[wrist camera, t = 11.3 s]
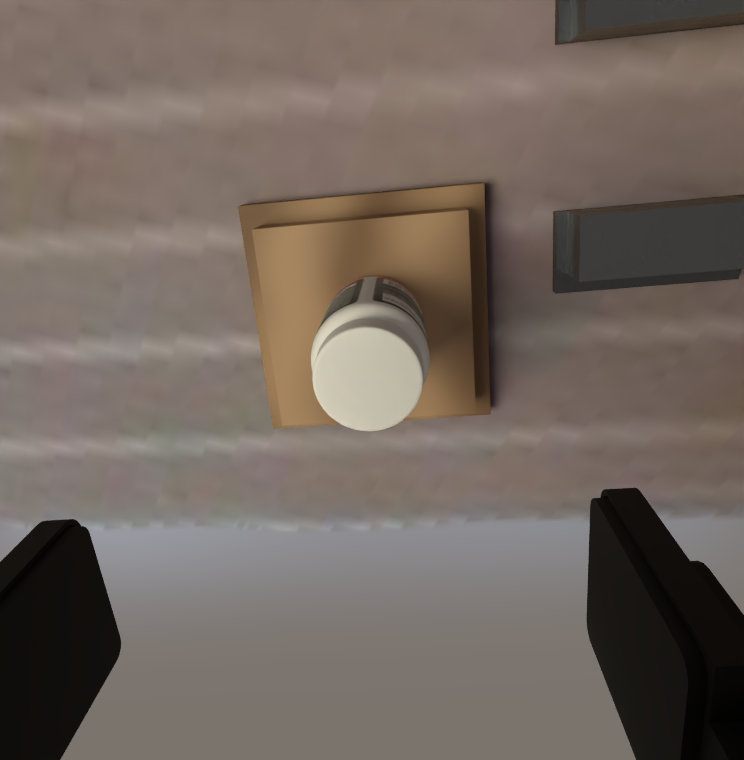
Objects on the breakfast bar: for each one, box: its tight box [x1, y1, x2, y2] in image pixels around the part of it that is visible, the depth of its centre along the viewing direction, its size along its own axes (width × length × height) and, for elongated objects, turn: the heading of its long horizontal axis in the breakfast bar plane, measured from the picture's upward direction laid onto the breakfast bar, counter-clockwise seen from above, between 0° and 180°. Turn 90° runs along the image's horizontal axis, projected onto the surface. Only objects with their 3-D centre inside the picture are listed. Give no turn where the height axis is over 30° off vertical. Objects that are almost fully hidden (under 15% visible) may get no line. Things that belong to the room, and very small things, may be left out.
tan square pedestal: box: [238, 183, 491, 428], centre depth 31 cm, size 12×12×3 cm
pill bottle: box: [311, 276, 430, 431], centre depth 25 cm, size 5×5×8 cm
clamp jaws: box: [553, 0, 744, 293], centre depth 27 cm, size 9×15×3 cm, turn 5°
